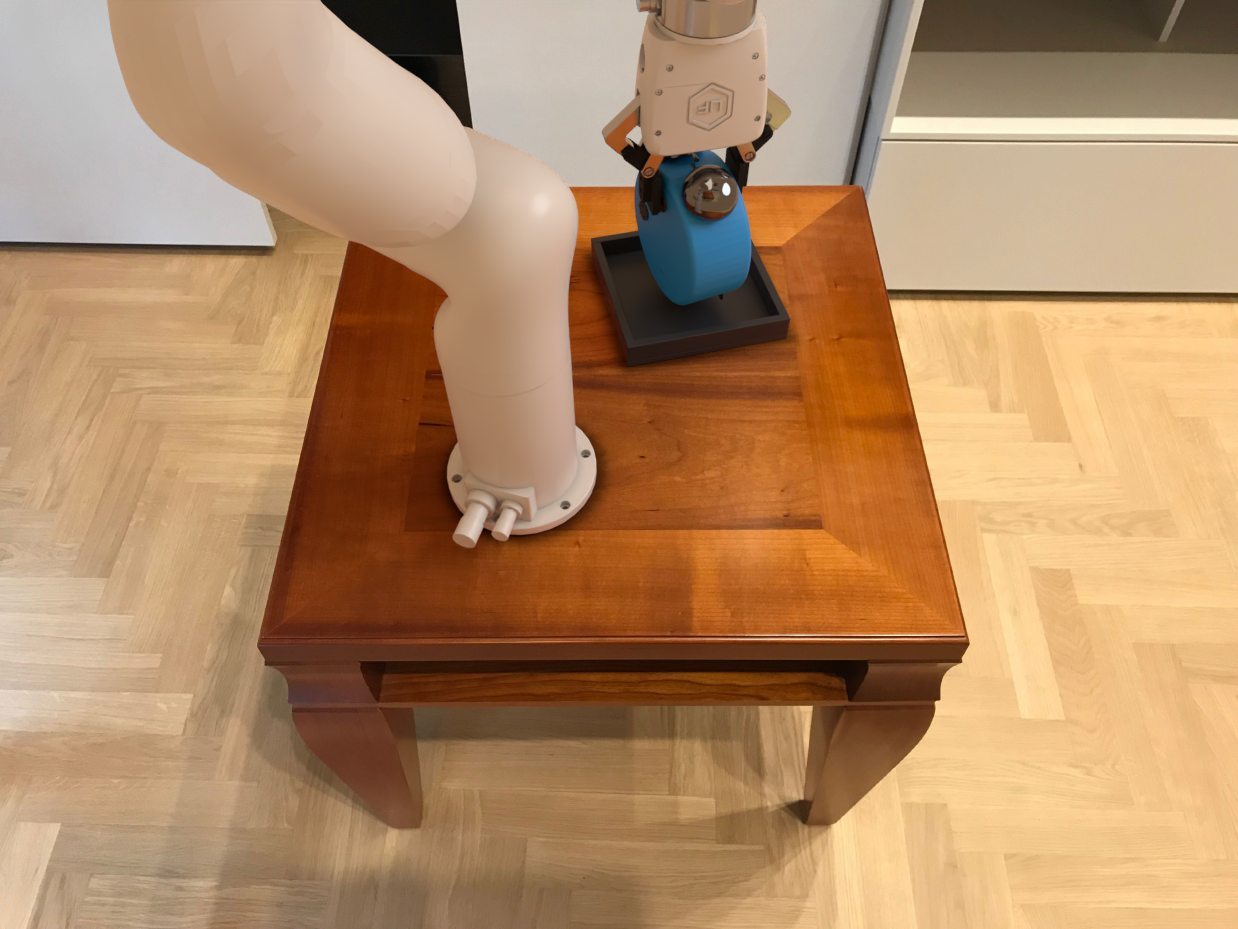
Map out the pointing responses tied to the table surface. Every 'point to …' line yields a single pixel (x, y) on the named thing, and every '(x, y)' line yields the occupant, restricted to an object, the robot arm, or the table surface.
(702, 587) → the table surface
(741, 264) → the alarm clock
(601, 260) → the tray
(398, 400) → the table surface
